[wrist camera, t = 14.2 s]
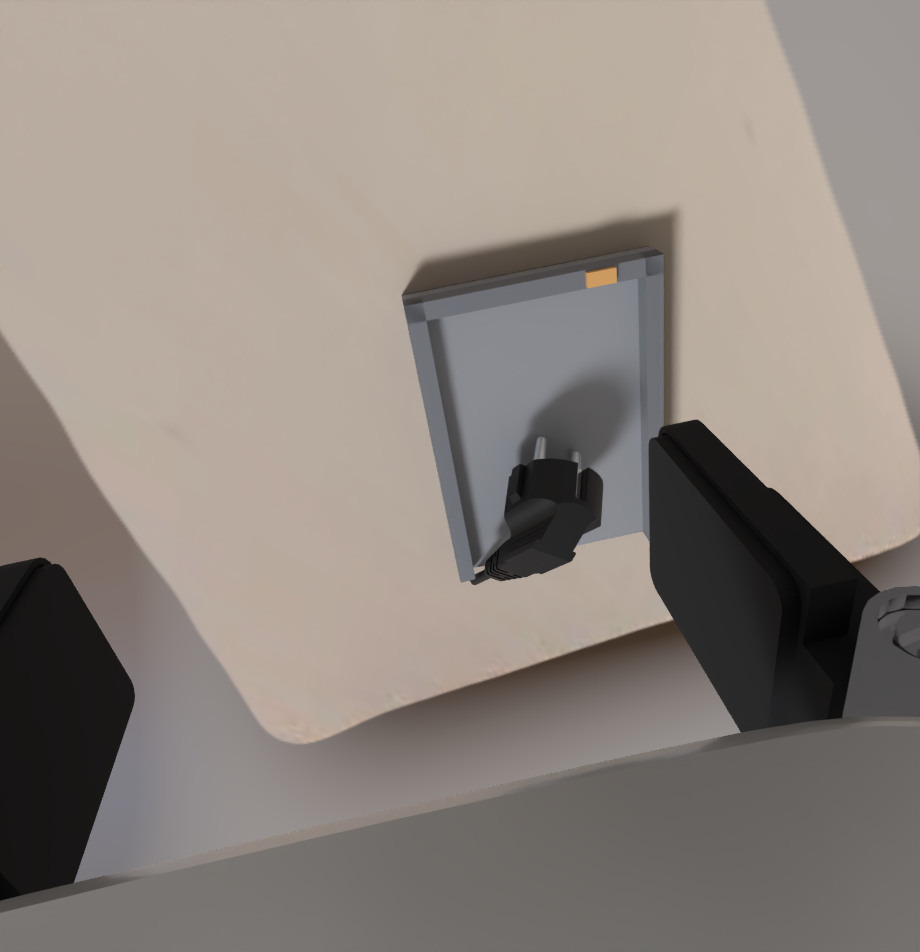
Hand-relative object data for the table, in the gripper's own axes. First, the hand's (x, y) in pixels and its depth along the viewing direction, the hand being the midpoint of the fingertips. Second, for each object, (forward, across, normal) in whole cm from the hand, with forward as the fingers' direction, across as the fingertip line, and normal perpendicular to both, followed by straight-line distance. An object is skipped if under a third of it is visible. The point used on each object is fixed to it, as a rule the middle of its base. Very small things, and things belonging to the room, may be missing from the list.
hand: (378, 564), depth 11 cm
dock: (+28, -8, +14) cm, 32 cm away
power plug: (+28, -6, +19) cm, 34 cm away
